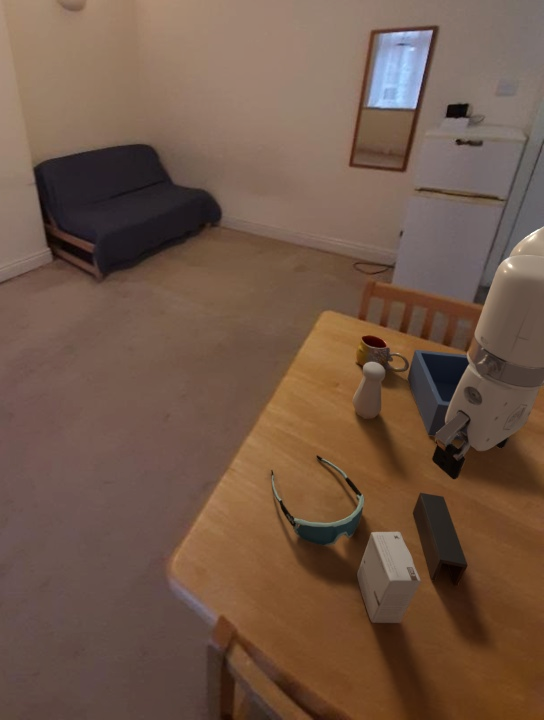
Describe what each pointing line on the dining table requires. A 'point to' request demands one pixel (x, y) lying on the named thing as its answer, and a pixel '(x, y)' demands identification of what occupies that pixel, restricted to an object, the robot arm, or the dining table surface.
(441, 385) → the box
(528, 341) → the robot arm
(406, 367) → the mug
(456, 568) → the black channel
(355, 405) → the salt shaker
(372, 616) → the cosmetic box
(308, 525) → the sunglasses
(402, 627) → the dining table surface
